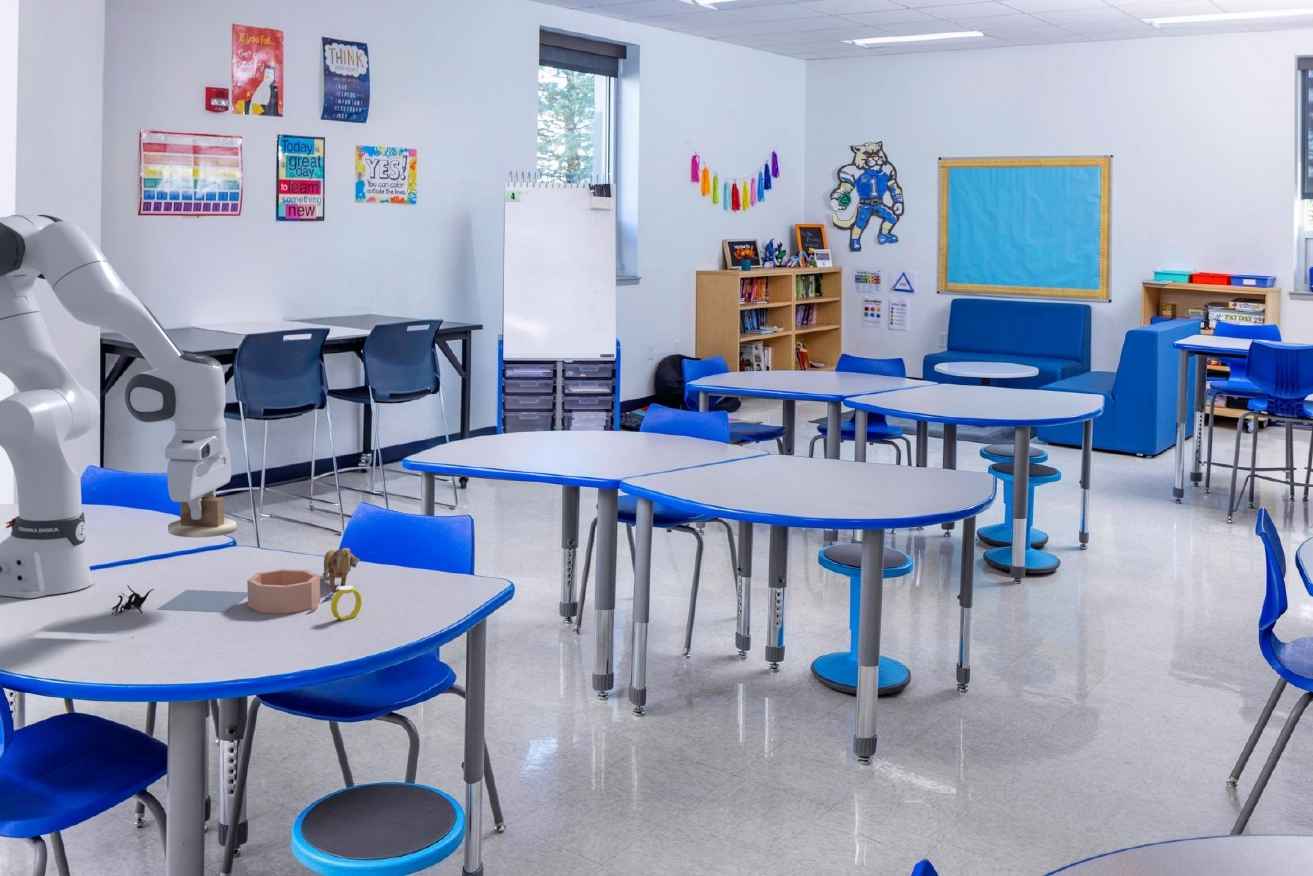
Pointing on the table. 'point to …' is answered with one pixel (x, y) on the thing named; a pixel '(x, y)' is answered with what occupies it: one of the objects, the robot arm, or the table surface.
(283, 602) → the octagonal planter
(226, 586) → the table surface
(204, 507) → the lid
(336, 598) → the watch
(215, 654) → the table surface
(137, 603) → the creature
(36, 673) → the table surface
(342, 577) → the lion figurine
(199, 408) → the robot arm
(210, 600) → the mat
